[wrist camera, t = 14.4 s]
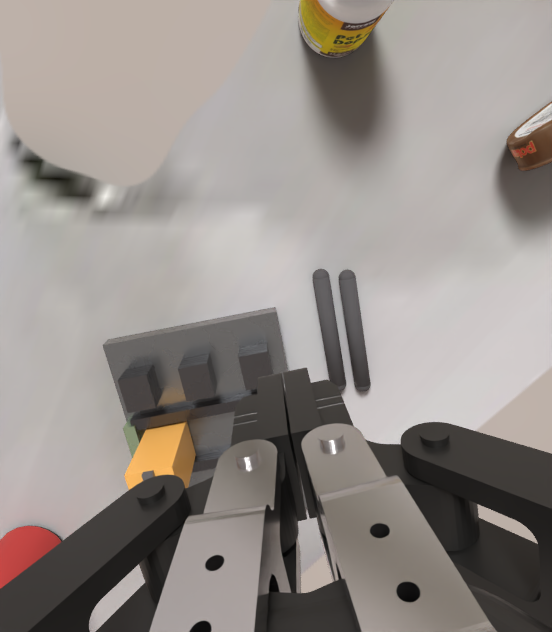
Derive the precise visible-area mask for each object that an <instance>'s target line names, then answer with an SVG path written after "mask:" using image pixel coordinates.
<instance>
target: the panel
mask: <svg viewBox="0 0 552 632" xmlns="http://www.w3.org/2000/svg"><path fill="white" fill-rule="evenodd" d="M103 348H104V351H105V354H106V357H107V361H108V364H109V367H110V370H111V373H112V376H113V379H114V383H115V386H116V389H117V392H118V395H119V398H120V402H121V405H122V408H123V411H124V414H125V417H126V420H127V423H126V424H125V426H124V428H123V430H124V433H125V436H126V440H127V443H128V446H129V449H130V452H131V455H132V458H133V456H134V454H135V452H136V450H137V448H138V446H139V443H140V441H141V439H142V437H143V435H144V433H145V431H146V429H147V428H152V427H157V426H162V425H167V424H172V423H178V422H183V421H187V424H188V427H189V431H190V435H191V438H192V442H193V446H194V449H195V453H196V456H195V460H194V465H193V469H192V473H191V478H190V482H189V486H188V487H191V486H193V485H196V484H198V483H200V482H203V481H205V480H207V479H209V478H211V477H212V476H214V473H215V470H216V466H217V462H218V460H219V458H220V456H221V455H222V454H223V453H224V452H225V451H226V450H227V449H229V448H230V447H231V439H232V431H233V426H234V425H233V422H234V413H235V406H236V405H237V404H238V403H239V401H240V400H241V399H242V398H243V397H245V396H250V395H255V394H257V381H258V377H263V376H268V375H273V374H278V373H281V374H282V378H283V382H284V375H283V372H287V371H288V369H287V364H286V359H285V354H284V349H283V344H282V339H281V334H280V329H279V324H278V318H277V313H276V308H275V307H274V308H268V309H263V310H258V311H253V312H248V313H243V314H238V315H233V316H227V317H222V318H217V319H212V320H207V321H202V322H197V323H191V324H186V325H181V326H176V327H171V328H166V329H161V330H155V331H150V332H145V333H140V334H135V335H130V336H125V337H119V338H114V339H109V340H108V341H107V342H106V343H105V344H104V345H103ZM284 387H285V383H284ZM302 488H303V486H302ZM303 495H304V490H303ZM304 502H305V508H307V504H306V499H305V495H304Z"/></svg>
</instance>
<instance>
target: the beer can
mask: <svg viewBox="0 0 552 632" xmlns="http://www.w3.org/2000/svg"><path fill="white" fill-rule="evenodd" d="M61 542H62V541H61V540H60V539H59V538H58V537H57V535H55V534H54V533H52V532H51V531H49V530H47V529H44V528H41V527H38V526H24V527H19V528H16V529H14V530H12V531H10V532H8V533H7V534H6V535H5V536H4V537H3V538H2V539H1V540H0V589H1V588H2V587H3V586H5V585H6V584H7V583H9V582H10V581H11V580H12V579H14V578H15V577H16V576H18V575H19V574H20V573H22V572H23V571H24V570H26V569H27V568H28V567H29V566H31V565H32V564H33V563H35V562H36V561H37V560H39V559H40V558H41V557H42V556H44V555H45V554H46V553H48V552H49V551H50V550H52V549H53V548H54V547H56V546H57V545H58V544H59V543H61Z"/></svg>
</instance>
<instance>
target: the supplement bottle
mask: <svg viewBox="0 0 552 632" xmlns="http://www.w3.org/2000/svg"><path fill="white" fill-rule="evenodd" d="M393 1H394V0H300V4H299V9H298V21H299V27H300V30H301V33H302V36H303V38H304V39H305V41H306V43H307V44H308V45H309V46H310V47H311V48H312V49H313V50H314V51H315V52H317V53H319V54H321V55H323V56H326V57H331V58H337V57H343V56H346V55H348V54H350V53H352V52H353V51H355V50H356V49H357V48H358V47H360V45H361V44H362V43H363V42H364V41H365V39H366V38H367V37H368V35H369V34H370V32H371V31H372V30H373V28H374V27H375V26H376V24H377V23H378V22H379V20H380V19H381V18H382V16H383V15H384V13H385V12H386V11H387V9H388V8H389V7H390V5H391V4H392V2H393Z"/></svg>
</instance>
